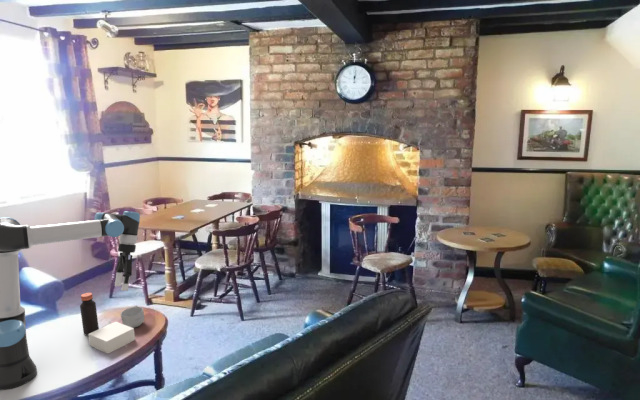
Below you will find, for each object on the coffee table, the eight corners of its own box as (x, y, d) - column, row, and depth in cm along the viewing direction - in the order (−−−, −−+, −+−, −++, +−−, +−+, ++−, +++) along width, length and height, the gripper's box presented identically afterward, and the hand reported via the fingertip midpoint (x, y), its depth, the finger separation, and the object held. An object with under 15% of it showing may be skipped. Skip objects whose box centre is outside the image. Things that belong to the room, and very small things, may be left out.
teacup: (139, 330, 215) (138, 315, 214) (118, 330, 216) (116, 315, 214) (150, 317, 229) (149, 303, 228) (130, 317, 229) (128, 303, 228)
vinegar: (96, 327, 219) (91, 290, 215) (101, 331, 215) (96, 294, 211) (81, 332, 214) (76, 294, 211) (86, 337, 210) (81, 298, 206)
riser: (108, 353, 195) (106, 341, 193) (89, 345, 202) (88, 333, 201) (135, 339, 206) (133, 328, 205) (117, 332, 213) (115, 321, 212)
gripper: (142, 246, 198) (136, 292, 197) (129, 242, 218) (123, 284, 216) (125, 245, 194) (118, 292, 192) (113, 241, 214) (107, 284, 212)
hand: (121, 288), depth 204 cm, fingers open, 13 cm apart
